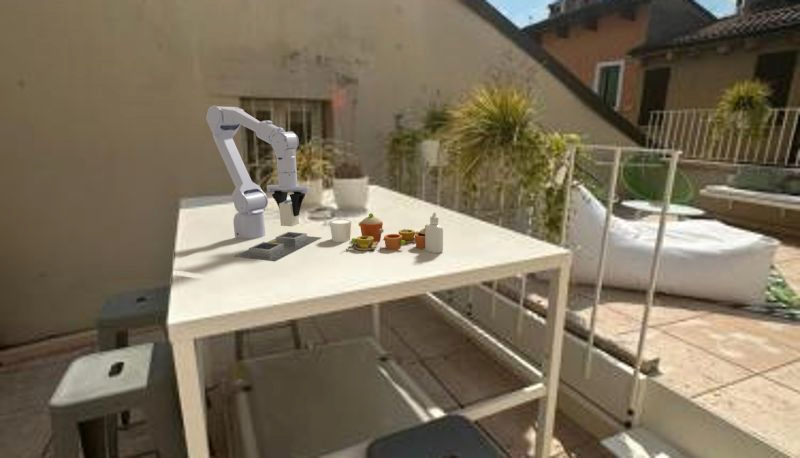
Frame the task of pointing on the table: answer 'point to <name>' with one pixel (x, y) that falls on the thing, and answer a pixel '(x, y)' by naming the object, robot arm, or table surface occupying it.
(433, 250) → the eye dropper bottle
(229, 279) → the table surface
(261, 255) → the panel
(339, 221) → the white cylinder
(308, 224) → the table surface
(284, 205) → the plug
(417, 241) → the toy tea set
